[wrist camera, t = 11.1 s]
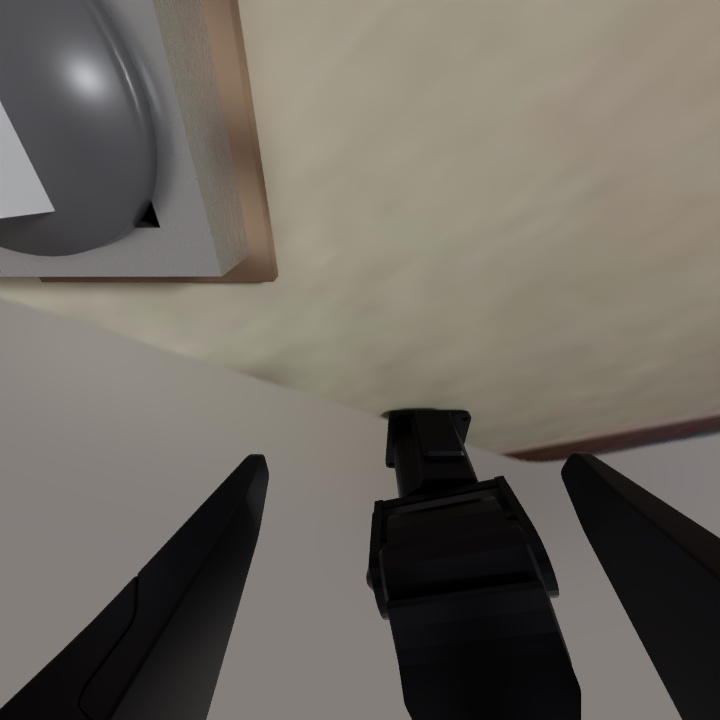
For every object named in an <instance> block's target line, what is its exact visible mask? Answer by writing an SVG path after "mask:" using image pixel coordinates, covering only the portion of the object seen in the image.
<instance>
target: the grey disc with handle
mask: <svg viewBox="0 0 720 720" xmlns="http://www.w3.org/2000/svg"><path fill="white" fill-rule="evenodd" d="M157 168H158V165H157V143H156V136H155V129H154V124H153V120H152V115H151V111H150V107H149V103H148V100H147V97H146V94H145V92H144V89H143V86H142V83H141V80H140V77H139V75H138V73H137V70H136V68H135V66H134V64H133V61H132V59H131V57H130V55H129V52H128V50H127V49H126V47H125V45H124V43H123V41H122V39H121V38H120V36H119V34H118V32H117V30H116V28H115V27H114V25H113V23H112V22H111V20H110V19H109V17H108V15H107V14H106V12H105V11H104V9H103V8H102V6H101V5H100V3H99V2H98V0H0V247H2V248H5V249H9V250H12V251H16V252H20V253H25V254H31V255H36V256H51V257H55V256H69V255H73V254H78V253H82V252H86V251H89V250H93V249H96V248H99V247H103V246H106V245H109V244H111V243H113V242H116V241H118V240H120V239H121V238H123V237H124V236H126V235H127V234H129V233H130V232H131V231H132V230H133V229H134V228H135V227H136V226H137V225H138V224H139V222H140V221H141V220H142V218H143V217H144V215H145V214H146V212H147V209H148V207H149V205H150V203H151V200H152V197H153V193H154V189H155V185H156V177H157Z"/></svg>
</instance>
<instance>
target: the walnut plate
mask: <svg viewBox="0 0 720 720" xmlns="http://www.w3.org/2000/svg"><path fill="white" fill-rule="evenodd" d="M202 4H203V9H204V14H205V19H206V25H207V30H208V35H209V40H210V46H211V51H212V56H213V61H214V66H215V72H216V77H217V82H218V87H219V92H220V98H221V103H222V108H223V113H224V118H225V124H226V129H227V134H228V139H229V145H230V150H231V155H232V160H233V165H234V171H235V176H236V181H237V186H238V191H239V197H240V202H241V207H242V212H243V217H244V223H245V228H246V233H247V238H248V244H249V249H250V255H249V256H248V257H246V258H245V259H244V260H243V261H241V262H240V263H239V264H237V265H236V266H235V267H233V268H232V269H231V270H230V271H228V272H227V273H226V274H224V275H223V276H177V277H39V278H40V279H41V281H42V282H274V280H275V279H276V278H277V276H278V270H277V263H276V257H275V250H274V243H273V236H272V230H271V223H270V216H269V210H268V203H267V196H266V189H265V183H264V176H263V169H262V162H261V156H260V149H259V142H258V135H257V129H256V122H255V115H254V109H253V102H252V95H251V88H250V82H249V75H248V68H247V61H246V55H245V48H244V41H243V34H242V28H241V21H240V14H239V7H238V1H237V0H202ZM145 215H156V213H155V210H154V207H153V204H152V201H151V203H150V205H149V207H148V209H147V212H146V214H145Z"/></svg>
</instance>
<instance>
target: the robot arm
mask: <svg viewBox="0 0 720 720" xmlns="http://www.w3.org/2000/svg"><path fill="white" fill-rule="evenodd" d="M465 416H466V417H465ZM394 417H397V418H394ZM462 417H464V418H462ZM470 421H471V416H470V414H469V412H468V411H393V412H391V413H390V414H389V421H388V434H387V448H386V466H387V467H389V468H395V471H396V478H397V486H398V494H399V498H396V499H391V500H386V501H383V500H379V501H375V505H374V513H373V515H372V527H371V540H370V553H369V567H368V570H367V576H366V577H367V584H368V586H369V587H370V588H371V589H372V590H373V591H374V594H375V598H376V602H377V606H378V609H379V611H380V614H381V616H382V618H383V619H385V620H390V625H391V630H392V635H393V639H394V644H395V649H396V654H397V659H398V663H399V670H400V677H401V684H402V690H403V697H404V703H405V706H406V708H407V710H408V712H409V714H410V716H411V718H412V720H581V690H580V686H579V683H578V681H577V678H576V676H575V673H574V670H573V668H572V663H571V659H570V656H569V653H568V650H567V647H566V644H565V641H564V638H563V635H562V633H561V630H560V627H559V624H558V621H557V618H556V615H555V612H554V609H553V607H552V603H551V601H550V598H556V597H558V596H559V589H558V584H557V580H556V577H555V573H554V571H553V568H552V565H551V562H550V560H549V557H548V555H547V552H546V550H545V548H544V545H543V543H542V541H541V539H540V537H539V535H538V533H537V531H536V529H535V527H534V526H533V524H532V522H531V521H530V519H529V517H528V516H527V514H526V513H525V511H524V509H523V507H522V506H521V504H520V503H519V501H518V499H517V498H516V496H515V494H514V493H513V491H512V489H511V488H510V486H509V484H508V483H507V482H506V480H505V478H504V476H498V477H494V479H491V480H486V481H481V482H478V480H477V477H476V475H475V472H474V470H473V467H472V464H471V462H470V459H469V457H468V454H467V452H466V449H465V447H464V442H465V439H466V435H467V432H468V428H469V424H470ZM561 476H562V479H563V482H564V484H565V486H566V489H567V492H568V494H569V496H570V499H571V501H572V503H573V506H574V509H575V511H576V513H577V516H578V518H579V521H580V523H581V525H582V528H583V530H584V532H585V534H586V536H587V538H588V540H589V542H590V544H591V546H592V548H593V550H594V552H595V553H596V555H597V557H598V559H599V561H600V563H601V565H602V567H603V569H604V571H605V573H606V575H607V576H608V578H609V580H610V582H611V584H612V586H613V588H614V590H615V592H616V593H617V595H618V597H619V599H620V601H621V603H622V605H623V607H624V609H625V611H626V613H627V615H628V616H629V619H630V620H631V622H632V624H633V626H634V628H635V630H636V632H637V634H638V636H639V638H640V639H641V641H642V643H643V645H644V647H645V649H646V651H647V653H648V655H649V656H650V659H651V661H652V662H653V664H654V666H655V668H656V670H657V672H658V674H659V676H660V678H661V680H662V682H663V684H664V685H665V687H666V689H667V691H668V693H669V695H670V697H671V699H672V701H673V702H674V705H675V706H676V708H677V710H678V712H679V714H680V716H681V718H682V720H720V538H719V537H717V536H716V535H714V534H713V533H711V532H709V531H708V530H706V529H705V528H703V527H702V526H700V525H699V524H697V523H696V522H694V521H693V520H691V519H690V518H688V517H686V516H685V515H683V514H682V513H680V512H679V511H677V510H676V509H674V508H673V507H671V506H670V505H668V504H667V503H665V502H663V501H662V500H660V499H659V498H657V497H656V496H654V495H653V494H651V493H649V492H648V491H647V490H645V489H644V488H642V487H641V486H639V485H637V484H636V483H634V482H633V481H631V480H630V479H628V478H627V477H625V476H624V475H622V474H621V473H619V472H617V471H616V470H614V469H613V468H611V467H610V466H608V465H607V464H605V463H604V462H602V461H601V460H599V459H598V458H596V457H595V456H593V455H591V454H590V453H587V452H573V453H571V454H570V456H569V457H568V459H567V461H566V463H565V464H564V466H563V468H562V470H561ZM268 480H269V472H268V468H267V464H266V460H265V457H264V455H262V454H251V455H249V456H247V457H246V458H245V459H244V460H243V461H242V462H241V464H240V465H239V466H238V467H237V468H236V469H235V470H234V471H233V472H232V473H231V474H230V476H228V477H227V479H226V480H225V481H224V482H223V483H222V484H221V485H220V486H219V487H218V488H217V489H216V490H215V491H214V493H213V494H212V495H211V496H210V497H209V498H208V499H207V500H206V501H205V502H204V503H203V504H202V505H201V506H200V507H199V509H198V510H197V511H196V512H195V513H194V514H193V515H192V516H191V517H190V518H189V519H188V521H186V522H185V524H184V525H183V526H182V527H181V528H180V529H179V530H178V531H177V532H176V533H175V534H174V535H173V536H172V537H171V538H170V540H169V541H168V542H167V543H166V544H165V545H164V546H163V547H162V548H161V549H160V550H159V551H158V552H157V553H156V555H155V556H154V557H153V558H152V559H151V560H150V561H149V562H148V563H147V564H146V565H145V566H144V567H143V568H142V569H141V571H140V572H139V573H138V576H136V577H134V578H133V579H132V580H131V581H130V582H129V583H128V584H127V585H126V586H125V587H124V589H123V590H122V591H121V592H120V593H119V594H118V595H117V596H116V597H115V598H114V599H113V600H112V601H111V602H110V603H109V604H108V605H107V606H106V607H105V608H104V610H102V612H101V613H100V614H99V615H98V616H97V617H96V618H95V619H94V620H93V621H92V622H91V623H90V624H89V625H88V626H87V627H86V628H85V629H84V630H83V631H82V632H80V633H79V634H78V635H77V636H76V637H75V638H74V639H73V640H72V641H71V642H70V643H69V644H68V645H67V646H66V647H65V648H64V649H63V650H62V651H61V652H60V653H59V654H58V655H57V656H56V657H55V658H54V659H53V660H51V662H49V663H48V664H47V665H46V666H45V667H44V668H43V669H42V670H41V671H40V672H39V673H38V674H37V675H36V676H35V677H33V678H32V679H31V680H30V682H28V683H27V684H26V685H25V686H24V687H23V688H22V689H21V690H20V691H19V692H18V693H17V694H16V695H15V696H14V697H12V698H11V699H10V700H9V701H8V702H7V703H6V704H5V705H4V706H3V707H2V708H1V709H0V720H206V718H207V715H208V711H209V708H210V704H211V701H212V697H213V694H214V690H215V687H216V683H217V680H218V676H219V673H220V669H221V666H222V662H223V658H224V655H225V652H226V648H227V645H228V641H229V638H230V634H231V631H232V627H233V624H234V620H235V617H236V613H237V610H238V606H239V602H240V599H241V596H242V592H243V589H244V585H245V582H246V578H247V574H248V571H249V568H250V564H251V560H252V557H253V554H254V550H255V547H256V543H257V539H258V535H259V530H260V526H261V520H262V514H263V509H264V503H265V497H266V491H267V486H268Z"/></svg>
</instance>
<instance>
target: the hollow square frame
mask: <svg viewBox="0 0 720 720" xmlns="http://www.w3.org/2000/svg"><path fill="white" fill-rule="evenodd" d="M98 2H99V3H100V5H101V6H102V8H103V9H104V11H105V12H106V14H107V15H108V17H109V19H110V20H111V22H112V23H113V25H114V27H115V28H116V30H117V32H118V34H119V36H120V38H121V39H122V41H123V43H124V45H125V47H126V49H127V50H128V52H129V55H130V57H131V59H132V61H133V64H134V66H135V68H136V70H137V73H138V75H139V77H140V80H141V83H142V86H143V89H144V92H145V94H146V97H147V100H148V103H149V107H150V111H151V115H152V120H153V124H154V129H155V136H156V143H157V165H158V168H157V177H156V185H155V189H154V193H153V197H152V200H151V201H152V204H153V207H154V210H155V213H156V215H144V217H143V218H142V220H141V221H140V222H139V224H138V225H137V226H136V227H135V228H134V229H133V230H132V231H131V232H130V233H129V234H127V235H126V236H124V237H123V238H121V239H120V240H118V241H116V242H113V243H111V244H109V245H106V246H103V247H99V248H96V249H93V250H89V251H86V252H82V253H78V254H73V255H69V256H55V257H51V256H36V255H31V254H25V253H20V252H16V251H12V250H9V249H5V248H2V247H0V277H177V276H223V275H224V274H226V273H227V272H228V271H230V270H231V269H232V268H233V267H235V266H236V265H237V264H239V263H240V262H241V261H243V260H244V259H245V258H246V257H248V256H249V255H250V249H249V244H248V238H247V233H246V228H245V223H244V217H243V212H242V207H241V202H240V197H239V191H238V186H237V181H236V176H235V171H234V165H233V160H232V155H231V150H230V145H229V139H228V134H227V129H226V124H225V118H224V113H223V108H222V103H221V98H220V92H219V87H218V82H217V77H216V72H215V66H214V61H213V56H212V51H211V46H210V40H209V35H208V30H207V25H206V19H205V14H204V9H203V4H202V0H98Z"/></svg>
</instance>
